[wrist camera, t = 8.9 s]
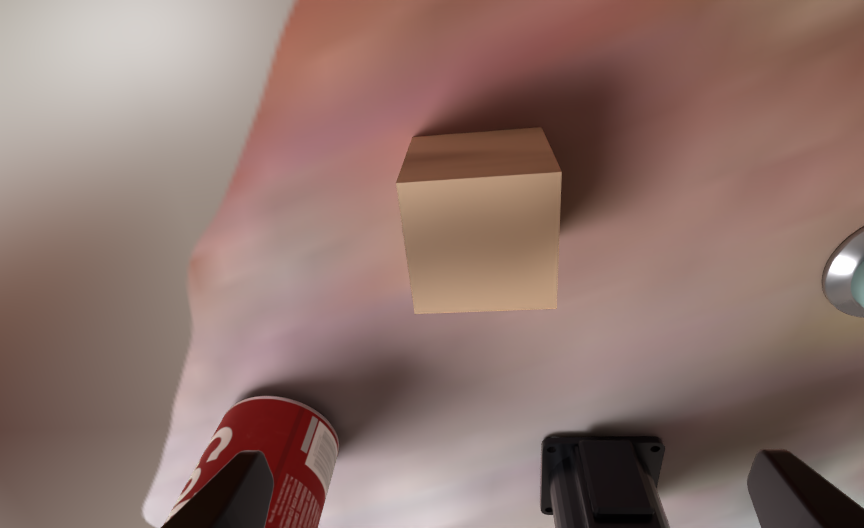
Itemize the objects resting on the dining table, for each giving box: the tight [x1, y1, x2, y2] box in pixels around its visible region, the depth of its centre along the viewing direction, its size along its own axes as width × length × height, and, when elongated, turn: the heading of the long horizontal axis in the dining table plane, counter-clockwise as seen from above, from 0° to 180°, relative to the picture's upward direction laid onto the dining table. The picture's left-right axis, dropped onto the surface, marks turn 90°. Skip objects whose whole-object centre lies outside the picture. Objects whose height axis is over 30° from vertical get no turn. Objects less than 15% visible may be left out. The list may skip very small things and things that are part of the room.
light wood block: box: [396, 127, 562, 314], centre depth 18 cm, size 5×5×5 cm
